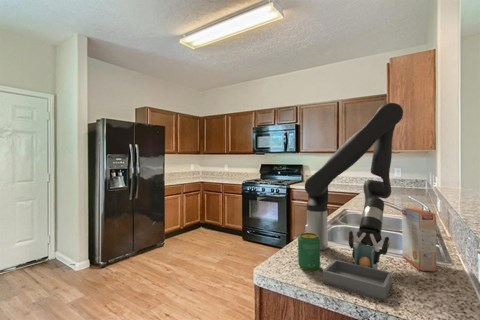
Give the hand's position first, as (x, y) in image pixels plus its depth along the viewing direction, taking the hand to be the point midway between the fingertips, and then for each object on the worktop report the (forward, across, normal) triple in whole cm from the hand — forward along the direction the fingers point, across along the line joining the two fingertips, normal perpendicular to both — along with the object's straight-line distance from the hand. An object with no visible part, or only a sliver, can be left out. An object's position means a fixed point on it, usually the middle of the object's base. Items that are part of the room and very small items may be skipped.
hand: (364, 260), depth 90 cm
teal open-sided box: (+2, 0, +4) cm, 5 cm away
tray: (+10, 0, -4) cm, 11 cm away
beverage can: (+8, -18, -2) cm, 20 cm away
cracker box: (-11, +14, +18) cm, 26 cm away
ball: (0, 0, +1) cm, 1 cm away
